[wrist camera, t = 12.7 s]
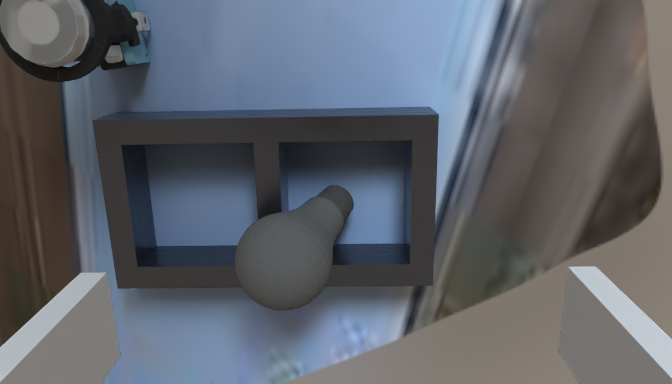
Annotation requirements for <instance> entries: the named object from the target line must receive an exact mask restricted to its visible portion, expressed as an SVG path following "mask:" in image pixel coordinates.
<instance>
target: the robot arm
mask: <svg viewBox="0 0 672 384" xmlns="http://www.w3.org/2000/svg"><path fill="white" fill-rule="evenodd" d="M558 352H559V354H560V355H561V357H562V358H563V360H564V361H565V363H566V364H567V366H568V368H569V369H570V371H571V372H572V374H573V375H574V377H575V378H576V380H577V381H578V383H579V384H672V339H671V338H670V337H669V336H668V335H667V334H665V332H664V331H662V330H661V329H660V328H659V327H658V326H657V325H656V324H655V323H654V322H653V321H652V320H651V319H650V318H649V317H648V316H647V315H646V314H645V313H644V312H643V311H641V310H640V309H639V308H638V307H637V306H636V305H635V304H634V303H633V302H632V301H631V300H630V299H629V298H628V297H627V296H626V295H625V294H624V293H623V292H622V291H621V290H620V289H618V288H617V287H616V286H615V285H614V284H613V283H612V282H611V281H610V280H609V279H608V278H607V277H606V276H605V275H604V274H603V273H602V272H601V271H600V270H599V269H598V268H596V267H568V272H567V280H566V289H565V298H564V306H563V314H562V322H561V331H560V339H559V348H558ZM120 356H121V354H120V348H119V342H118V336H117V330H116V324H115V317H114V311H113V305H112V299H111V293H110V287H109V281H108V275H107V272H101V273H80V274H79V275H78V276H77V277H76V278H75V279H73V280H72V281H71V282H70V283H69V284H68V285H67V286H66V287H65V288H64V289H63V290H62V291H60V292H59V293H58V294H57V295H56V296H55V297H54V298H53V299H52V300H51V301H50V302H49V303H48V304H46V305H45V306H44V307H43V308H42V309H41V310H40V311H39V312H38V313H37V314H36V315H35V316H33V317H32V318H31V319H30V320H29V321H28V322H27V323H26V324H25V325H24V326H23V327H22V328H21V329H19V330H18V331H17V332H16V333H15V334H14V335H13V336H12V337H11V338H10V339H9V340H8V341H7V342H5V343H4V344H3V345H2V346H1V347H0V384H101V383H102V382H103V380H104V379H105V377H106V376H107V374H108V373H109V372H110V370H111V369H112V367H113V366H114V364H115V363H116V361H117V360H118V358H119V357H120Z"/></svg>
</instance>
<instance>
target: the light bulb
mask: <svg viewBox="0 0 672 384" xmlns="http://www.w3.org/2000/svg"><path fill="white" fill-rule="evenodd" d="M353 206H354V203H353V199H352V196H351V195H350V193H349V192H348V191H347V190H346V189H344V188H342V187H340V186H336V185H331V186H328V187H327V188H326V189H324V190H323V191H322V192H321V193H320V194H319V195H318V196H316V197H314V198H311V199H309V200H308V201H307V202H306V203H304V204H303V205H302V206H300V207H299V208H297V209H295V210H292V211H286V212H280V213H275V214H271V215H268V216H265V217H263V218H261V219H259V220H257V221H256V222H255V223H253V224H252V225H251V226H250V227H249V228H248V229H247V230H246V231H245V233H244V234H243V236H242V237H241V239H240V241H239V244H238V246H237V249H236V254H235V270H236V275H237V278H238V280H239V282H240V285H241V286H242V288H243V290H244V291H245V292H246V293H247V295H248V296H249V297H250V298H252V299H253V300H254V301H255V302H257V303H258V304H260V305H262V306H264V307H267V308H270V309H274V310H291V309H296V308H299V307H302V306H304V305H306V304H308V303H309V302H311V301H312V300H313V299H315V298H316V297H317V296H318V295H319V294H320V293H321V292H322V290H323V289H324V288H325V286H326V284H327V282H328V279H329V277H330V274H331V268H332V260H333V246H334V242H335V240H336V238H337V236H338V234H339V233H340V231H341V230H342V228H343V225H344V221H345V220H346V219H347V217H348V216H349V214H350V212H351V211H352V209H353Z"/></svg>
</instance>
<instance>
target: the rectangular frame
mask: <svg viewBox="0 0 672 384" xmlns="http://www.w3.org/2000/svg"><path fill="white" fill-rule="evenodd" d="M438 119H439V114H437V113H436V112H435V111H434V110H433V109H431V108H430V107H401V108H344V109H287V110H230V111H173V112H117V113H114V114H111V115H108V116H105V117H102V118H99V119H96V120H93V126H94V133H95V139H96V146H97V153H98V159H99V166H100V173H101V179H102V186H103V193H104V199H105V206H106V213H107V219H108V226H109V233H110V240H111V246H112V253H113V260H114V266H115V273H116V280H117V286H118V288H216V287H242V286H241V285H240V282H239V280H238V278H237V275H236V270H235V254H236V249H237V246H156V239H155V231H154V223H153V215H152V207H151V199H150V191H149V183H148V175H147V166H146V158H145V150H144V145H148V144H210V143H253V147H254V162H255V177H256V193H257V208H258V220H259V219H261V218H263V217H265V216H268V215H271V214H275V213H280V212H286V211H289V210H288V189H287V167H286V146H285V142H335V141H398V140H406V165H405V223H404V244H334V246H333V260H332V268H331V274H330V277H329V279H328V282H327V284H326V286H432V285H433V264H434V235H435V206H436V177H437V148H438Z"/></svg>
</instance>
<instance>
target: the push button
mask: <svg viewBox="0 0 672 384" xmlns="http://www.w3.org/2000/svg"><path fill="white" fill-rule="evenodd" d="M144 19H145V21H146V24H145V22H144ZM142 30H143V31H150V24H149V21H148V17H147V15H146V13H145V12H136V9H135V6H134V2H133V0H0V43H1V45H2V47H3V48H4V50H5V51H6V53H7V54H8V56H9V57H10V58H11V59H12V60H13V61H14V62H15V63H16V64H17V65H18V66H19V67H20V68H22V69H23V70H24V71H26V72H27V73H29V74H31V75H33V76H35V77H37V78H40V79H43V80H47V81H53V82H64V81H71V80H76V79H79V78H81V77H84V76H86V75H87V74H89V73H90V72H92V71H93V70H94V69H95V68H96V67H98V66H99V65H100V66H101V68H102V69H103V70H110V69H117V68H122V67H127V66H132V65H137V64H142V63H147V62H150V57H149V53H148V51H147V48H146V44H145V41H144V37H143V34H142ZM73 61H80V62H79V63H78V64H76V65H74V66H72V67H63V65H67V64H70V63H72V62H73Z"/></svg>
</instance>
